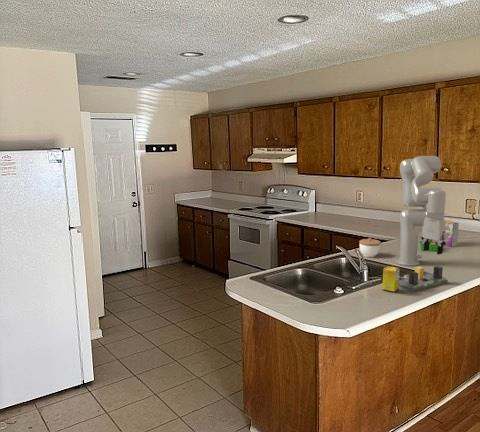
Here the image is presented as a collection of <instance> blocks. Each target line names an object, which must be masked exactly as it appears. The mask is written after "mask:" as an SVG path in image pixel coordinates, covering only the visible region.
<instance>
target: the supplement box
mask: <svg viewBox="0 0 480 432" xmlns="http://www.w3.org/2000/svg"><path fill="white" fill-rule="evenodd" d="M400 271H401V270H400V267H396V266H389V265H387V266H386V267H384V268H383V270H382V291H383V292H387V293H393V294H394V293H396V292H398V291H399V288H400V287H399V277H400Z"/></svg>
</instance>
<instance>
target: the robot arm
mask: <svg viewBox="0 0 480 432" xmlns="http://www.w3.org/2000/svg"><path fill="white" fill-rule="evenodd" d="M441 168H442V161H441V159H440V157H438V156H436V155H417V156H415V157H414V158H408V159H403V160H402V161H401V162H400V164H399V173H400V177H401V180H402V203H403V206H405V207H408V208H407V209H406V208H405V209H402V210H401V211H400V213H399V224H400V232H399V233H400V234H399V235H400V236H399V237H400V238H399V254H398V258H397V259H395V262H396V264H398V265H401V266H402V265H403V266H411V267H413V266H415V267H416V266H419V265H420V261H419V260H418V259H422V256H423V255H421V254H418V243H419V237H420V239H421V241H423V243H424V251H423V252H429V251H428V250H429V242H428V241H429V240H432V241H434V242H438V245H439V246H438V247H437V252H436V254H437V255H439V256H440V255H443V253H444V247H445V246H446V245H445V244H447V242H448V241H449V240H450V239H449V238H448V237H447V235H446V224H445V220H446V219H445V209H446V196H447V193H446V191H445V190H444V189H442V188H441V187H422V186H425V185H427V184H429V183H431V182H432V181H433V179H434V177H435V175H434V174H436V173H439V171H440V170H441ZM409 207H410V208H409ZM411 207H412V208H411ZM414 207H417V208H415V209H414ZM418 207H419V208H422V209H419V208H418ZM415 227H422V231H420V232H419V233H418V231H417V229H416V228H415ZM443 240H444V241H443ZM440 241H441V242H440Z"/></svg>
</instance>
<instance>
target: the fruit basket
mask: <svg viewBox="0 0 480 432" xmlns="http://www.w3.org/2000/svg"><path fill="white" fill-rule="evenodd" d="M428 242H429V250H428V251H427V252H432V253H433V252H434V253H435V252H436V253H437V247H438V246H439V245H438V242H437V241H434V240H429V241H428ZM418 243H419V247H420V251H422V252H425V251H424V243H423V240H418Z"/></svg>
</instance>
